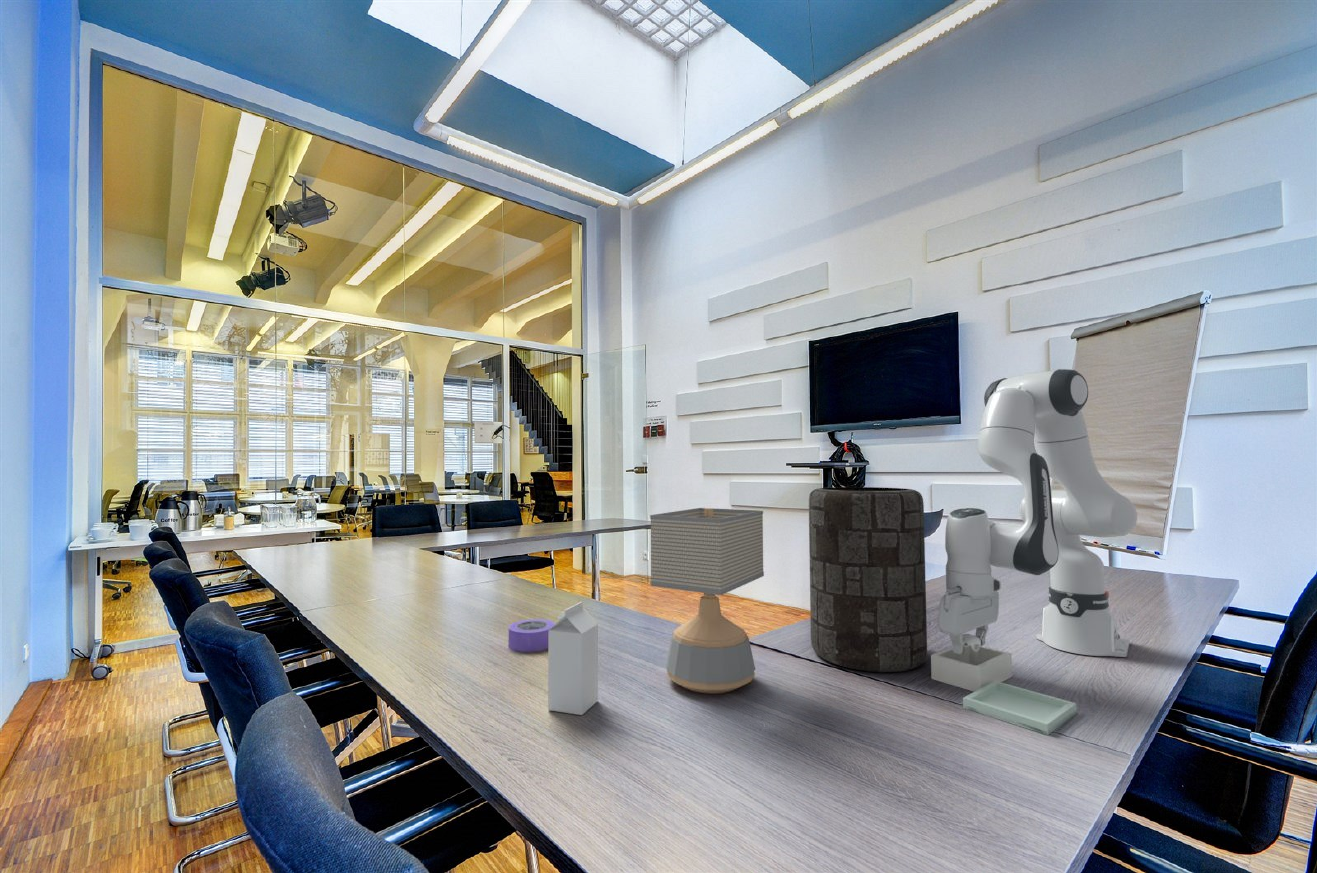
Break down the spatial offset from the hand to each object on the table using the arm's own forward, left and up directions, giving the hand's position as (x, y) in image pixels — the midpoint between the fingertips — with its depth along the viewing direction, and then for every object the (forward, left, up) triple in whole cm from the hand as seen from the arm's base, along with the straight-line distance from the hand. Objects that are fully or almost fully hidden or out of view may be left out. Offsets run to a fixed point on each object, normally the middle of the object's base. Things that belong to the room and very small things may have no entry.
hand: (969, 648), depth 124 cm
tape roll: (+65, -80, -7) cm, 103 cm away
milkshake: (0, 0, -6) cm, 6 cm away
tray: (+10, +13, -6) cm, 17 cm away
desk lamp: (+46, -33, -6) cm, 57 cm away
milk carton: (+75, -40, -6) cm, 85 cm away
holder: (0, 0, -6) cm, 6 cm away
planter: (+5, -22, -6) cm, 23 cm away
